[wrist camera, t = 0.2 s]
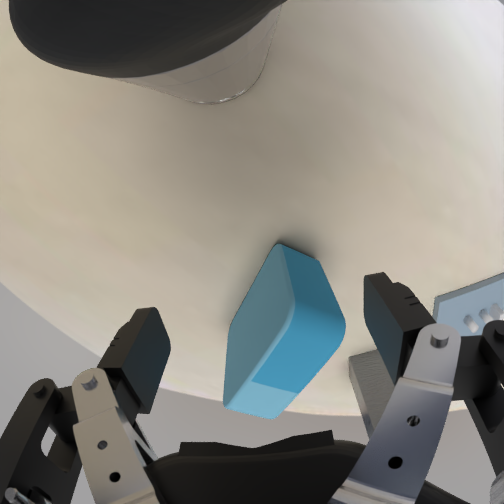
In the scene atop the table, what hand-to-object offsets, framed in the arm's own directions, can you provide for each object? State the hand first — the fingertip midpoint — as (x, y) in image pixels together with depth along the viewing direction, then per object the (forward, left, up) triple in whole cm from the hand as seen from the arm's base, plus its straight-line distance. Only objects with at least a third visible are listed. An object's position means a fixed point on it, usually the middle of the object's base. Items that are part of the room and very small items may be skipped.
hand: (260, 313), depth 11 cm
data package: (+11, -1, -18) cm, 21 cm away
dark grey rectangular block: (+25, +10, -18) cm, 32 cm away
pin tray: (+25, +26, -18) cm, 40 cm away
